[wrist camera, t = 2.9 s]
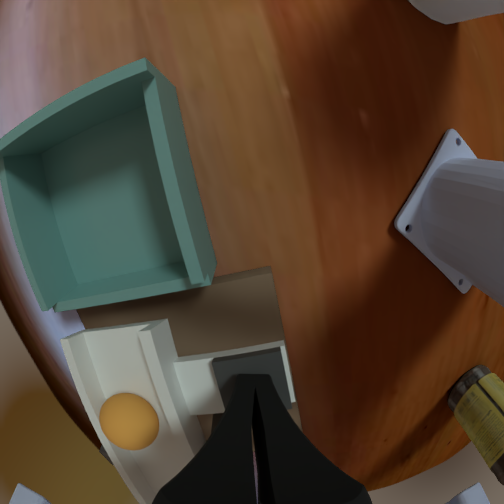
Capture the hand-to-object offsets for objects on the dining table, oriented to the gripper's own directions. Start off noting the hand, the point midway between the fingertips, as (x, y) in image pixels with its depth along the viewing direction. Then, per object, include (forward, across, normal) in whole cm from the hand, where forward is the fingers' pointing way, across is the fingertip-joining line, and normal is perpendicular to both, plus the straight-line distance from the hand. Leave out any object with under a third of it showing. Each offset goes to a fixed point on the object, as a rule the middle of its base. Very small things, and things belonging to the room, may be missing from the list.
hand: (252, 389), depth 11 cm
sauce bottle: (+6, -24, +10) cm, 27 cm away
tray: (+2, +2, +6) cm, 7 cm away
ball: (-1, +6, +2) cm, 6 cm away
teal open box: (+6, +8, -7) cm, 13 cm away
